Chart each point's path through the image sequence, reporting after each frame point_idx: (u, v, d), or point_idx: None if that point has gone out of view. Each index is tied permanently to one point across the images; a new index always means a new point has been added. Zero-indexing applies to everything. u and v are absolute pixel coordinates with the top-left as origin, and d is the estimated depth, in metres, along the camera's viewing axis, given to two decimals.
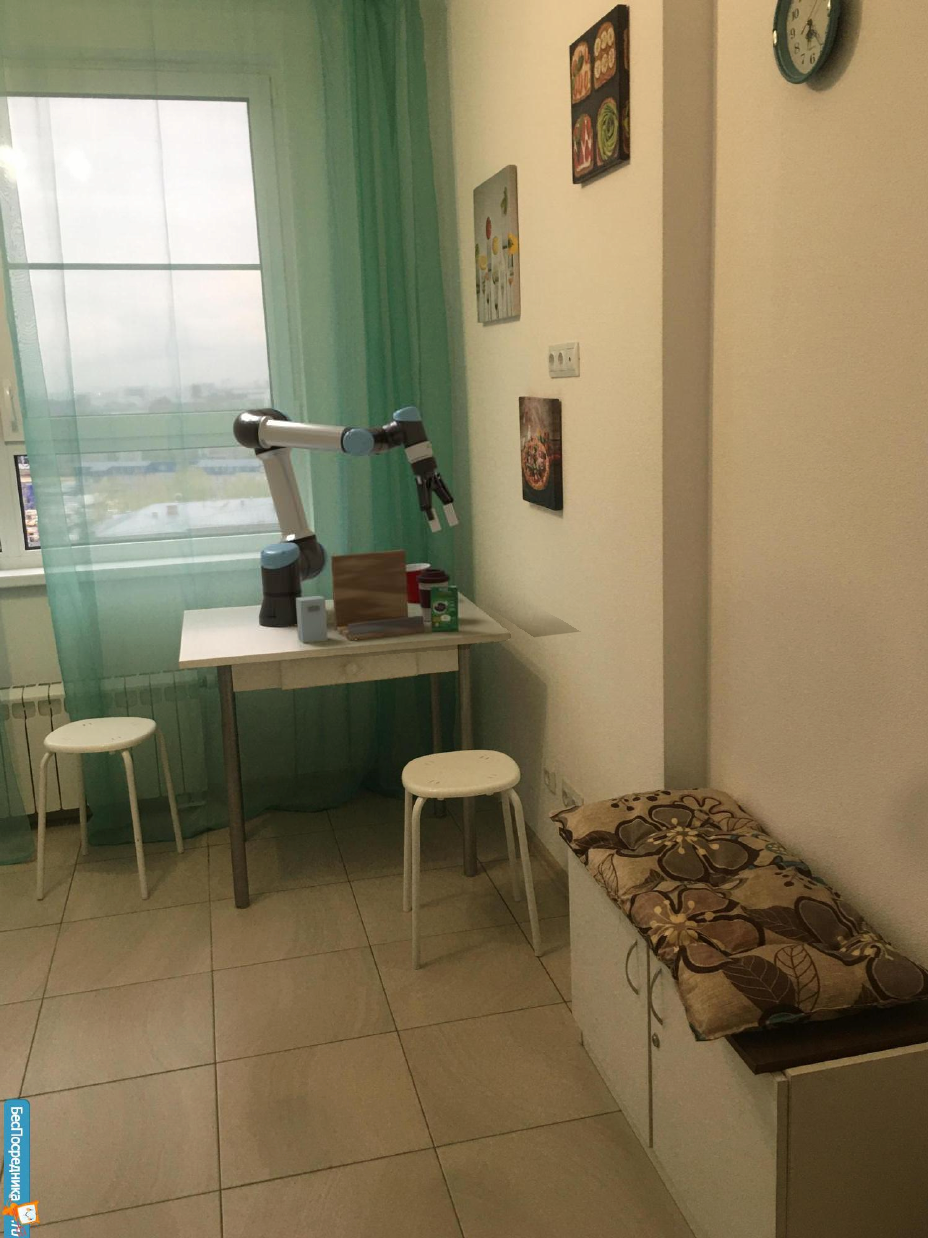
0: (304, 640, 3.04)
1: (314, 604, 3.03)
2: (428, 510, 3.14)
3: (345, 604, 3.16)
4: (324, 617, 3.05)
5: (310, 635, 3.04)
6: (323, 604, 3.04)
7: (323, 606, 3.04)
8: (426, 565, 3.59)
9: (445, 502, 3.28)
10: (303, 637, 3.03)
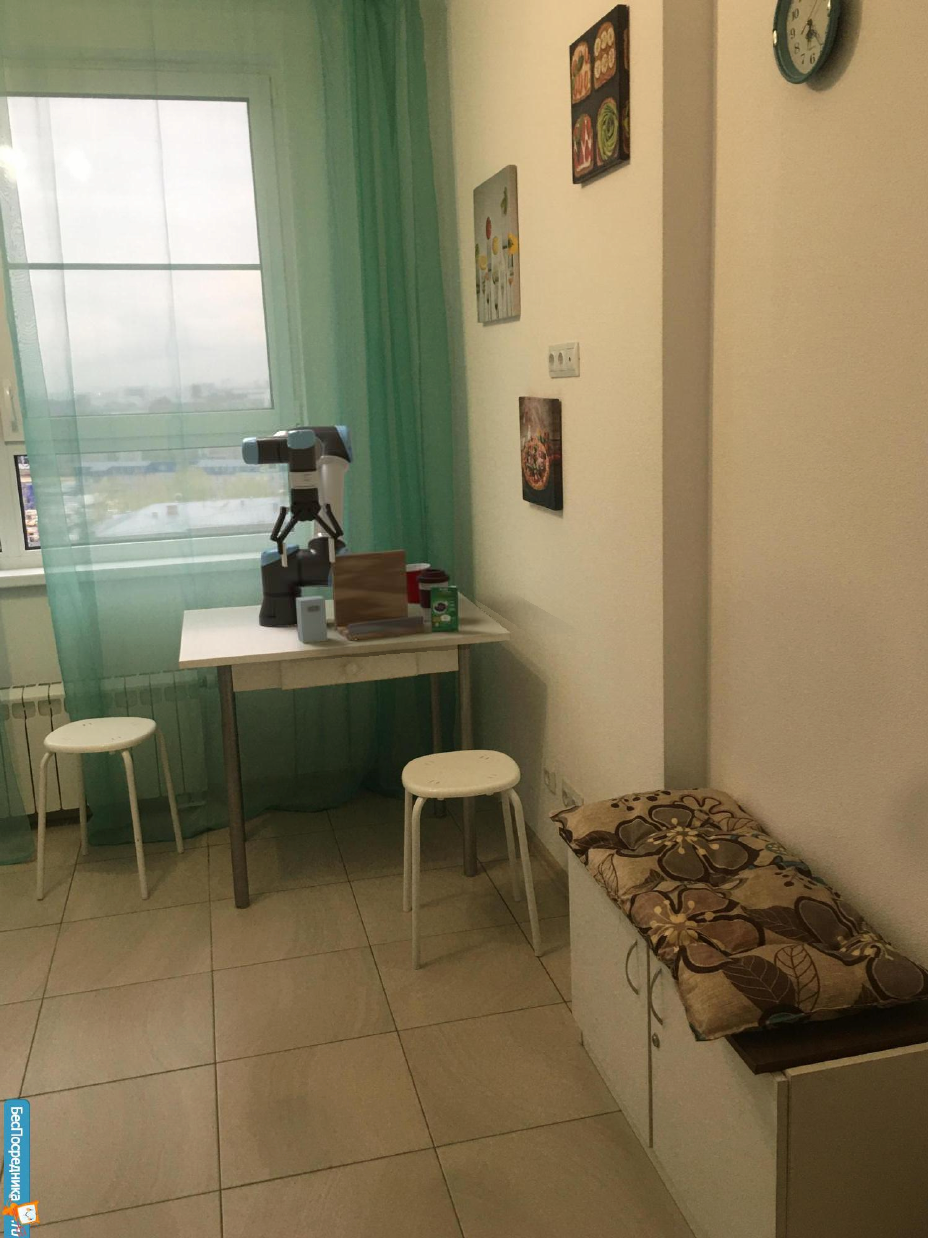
0: (304, 640, 3.04)
1: (314, 604, 3.03)
2: (277, 543, 2.98)
3: (345, 604, 3.16)
4: (324, 617, 3.05)
5: (310, 635, 3.04)
6: (323, 604, 3.04)
7: (323, 606, 3.04)
8: (426, 565, 3.59)
9: (331, 535, 3.04)
10: (303, 637, 3.03)
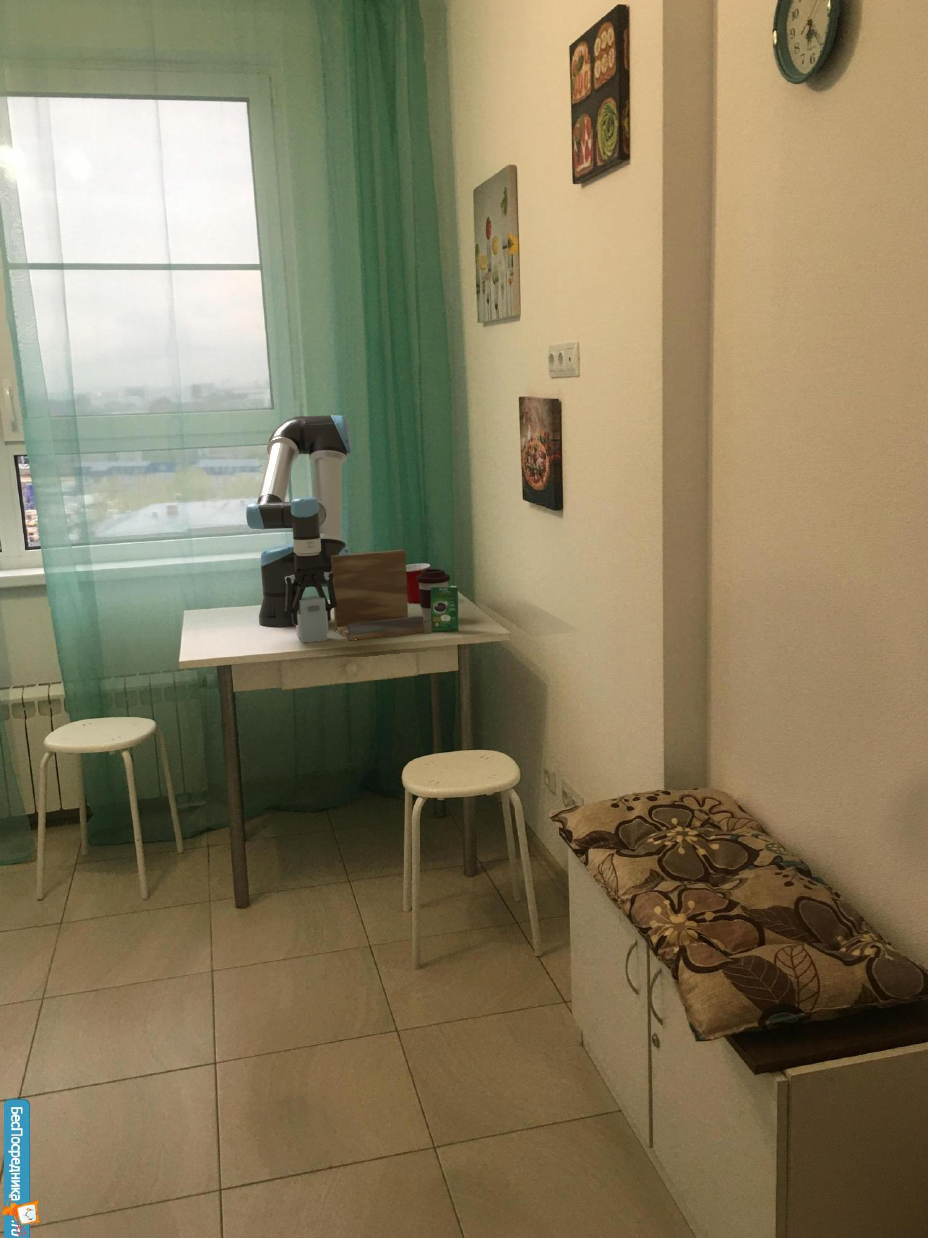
0: (304, 640, 3.04)
1: (314, 604, 3.03)
2: (292, 614, 3.03)
3: (345, 604, 3.16)
4: (324, 617, 3.05)
5: (310, 635, 3.04)
6: (323, 603, 3.04)
7: (323, 606, 3.04)
8: (426, 565, 3.59)
9: None
10: (303, 637, 3.03)
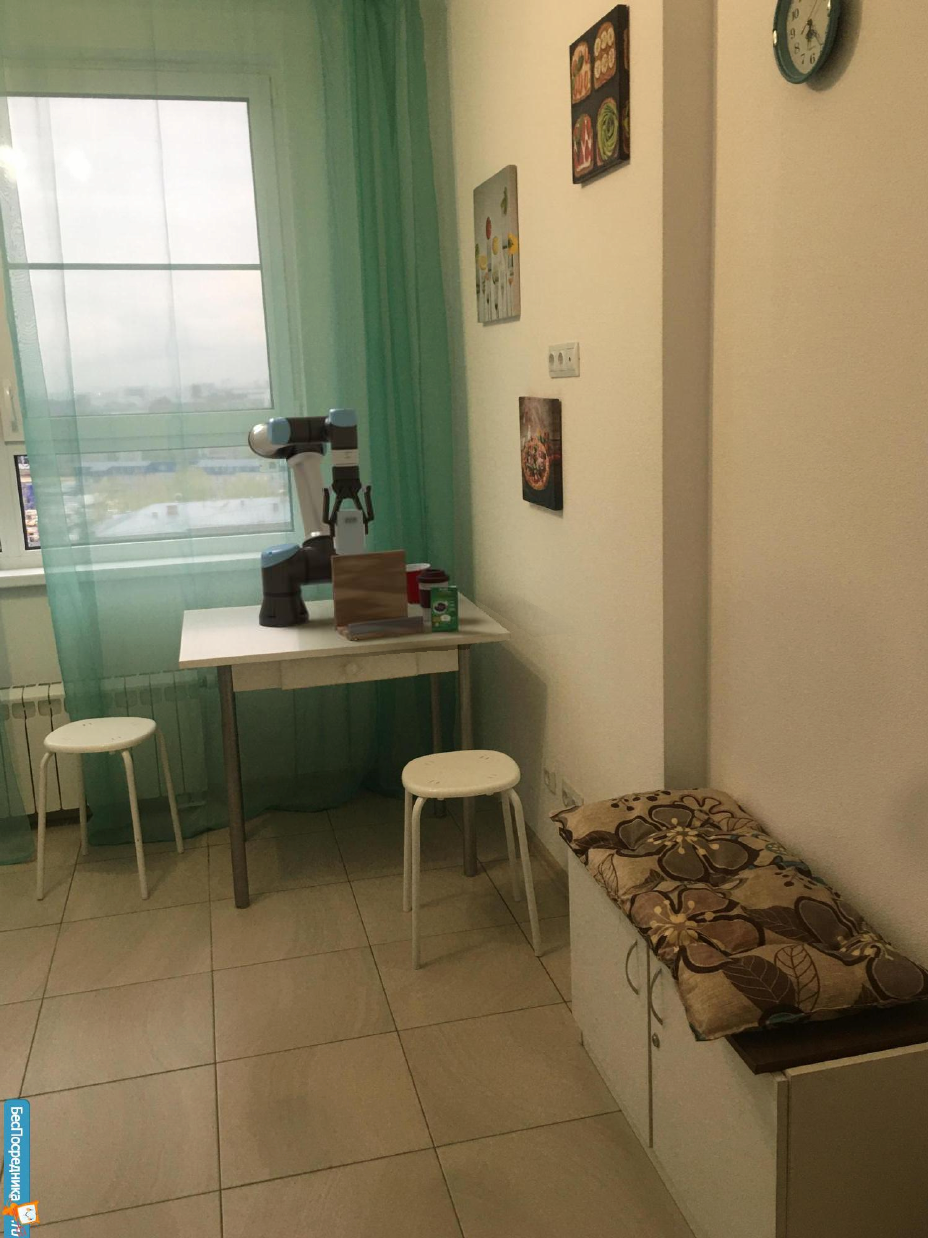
0: (341, 552, 3.03)
1: (352, 516, 3.03)
2: (330, 526, 3.03)
3: (345, 604, 3.16)
4: (361, 529, 3.04)
5: (347, 547, 3.04)
6: (360, 515, 3.04)
7: (360, 518, 3.04)
8: (426, 565, 3.59)
9: None
10: (340, 549, 3.03)
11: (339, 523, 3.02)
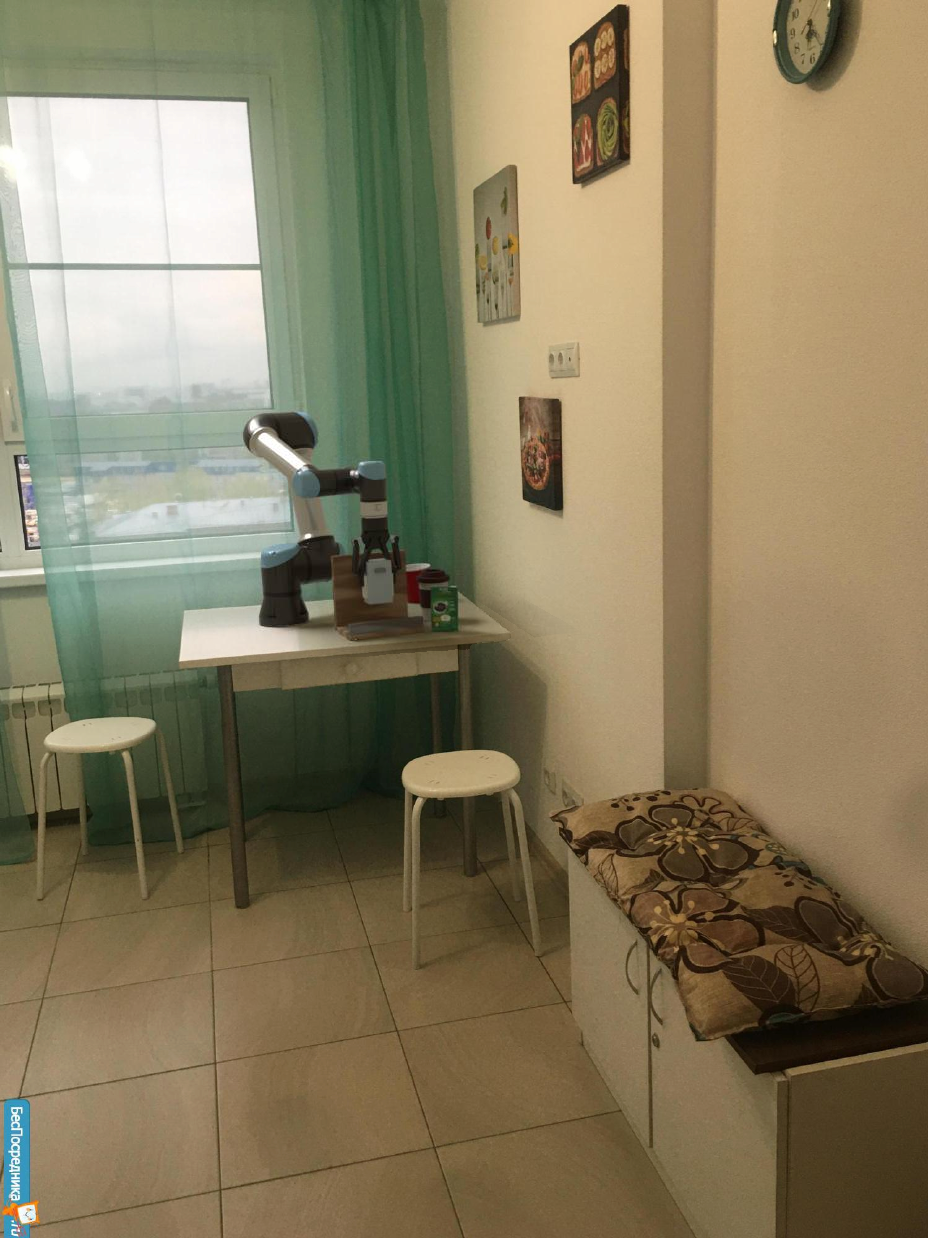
0: (371, 601, 3.10)
1: (381, 566, 3.09)
2: (359, 576, 3.09)
3: (345, 604, 3.16)
4: (390, 579, 3.11)
5: (376, 596, 3.10)
6: (389, 566, 3.10)
7: (389, 568, 3.10)
8: (426, 565, 3.59)
9: None
10: (370, 598, 3.10)
11: (369, 573, 3.08)
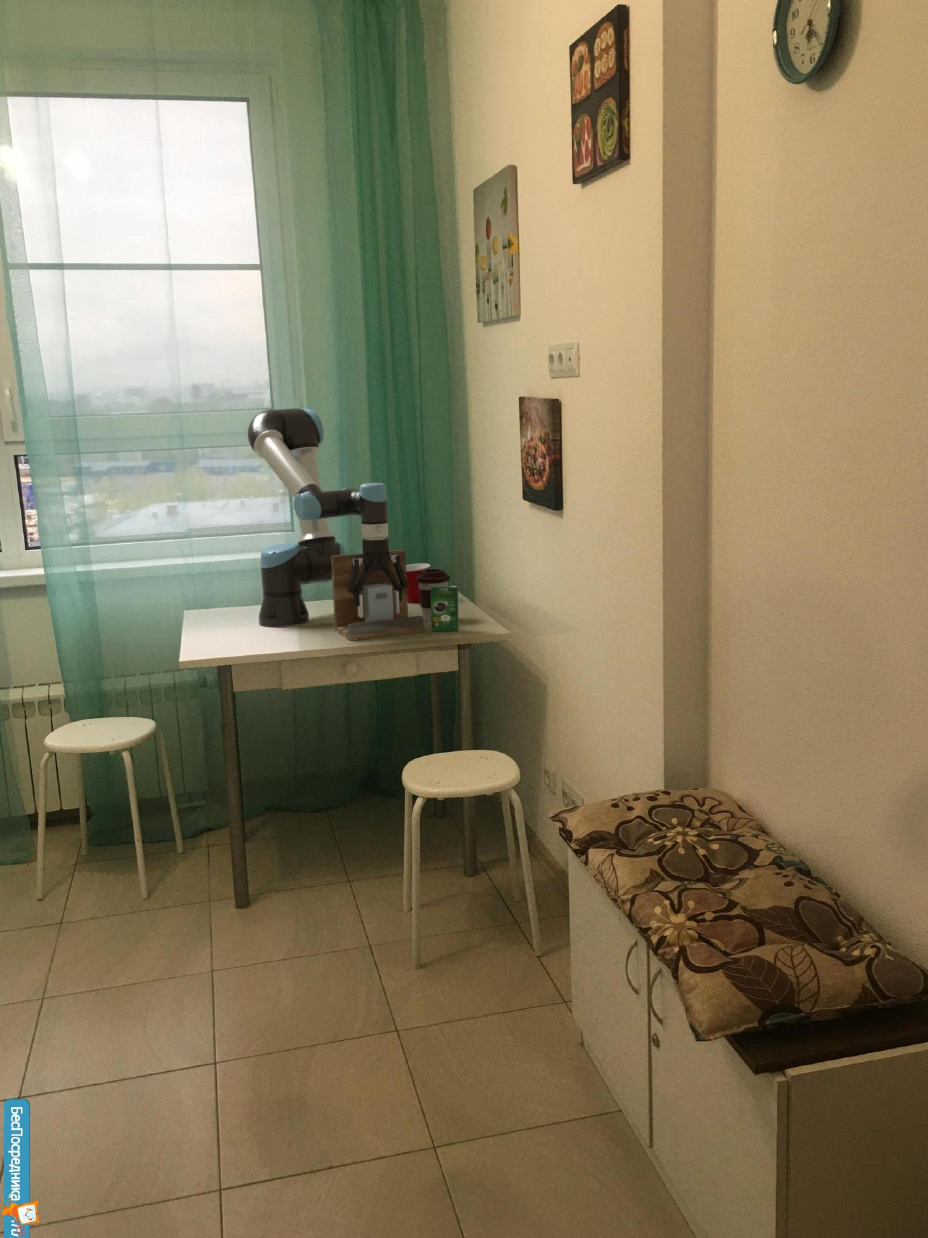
0: None
1: (382, 591, 3.11)
2: (354, 595, 3.10)
3: (345, 604, 3.16)
4: (391, 604, 3.12)
5: None
6: (390, 591, 3.12)
7: (390, 593, 3.12)
8: (426, 565, 3.59)
9: (396, 587, 3.15)
10: None
11: (370, 599, 3.10)
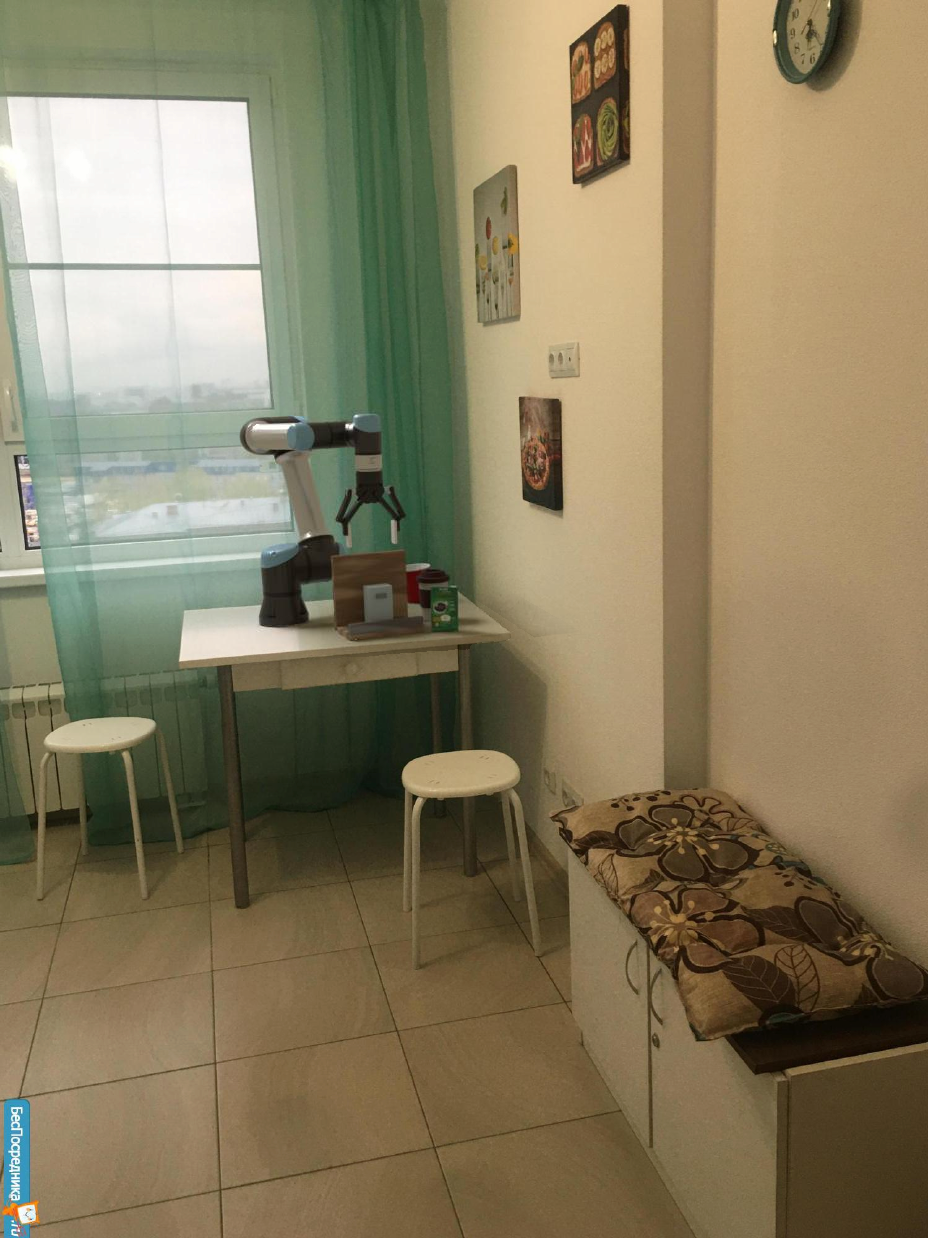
0: None
1: (382, 591, 3.11)
2: (343, 525, 3.05)
3: (345, 604, 3.16)
4: (391, 604, 3.12)
5: None
6: (390, 591, 3.12)
7: (390, 593, 3.12)
8: (426, 565, 3.59)
9: (394, 517, 3.12)
10: None
11: (370, 599, 3.10)
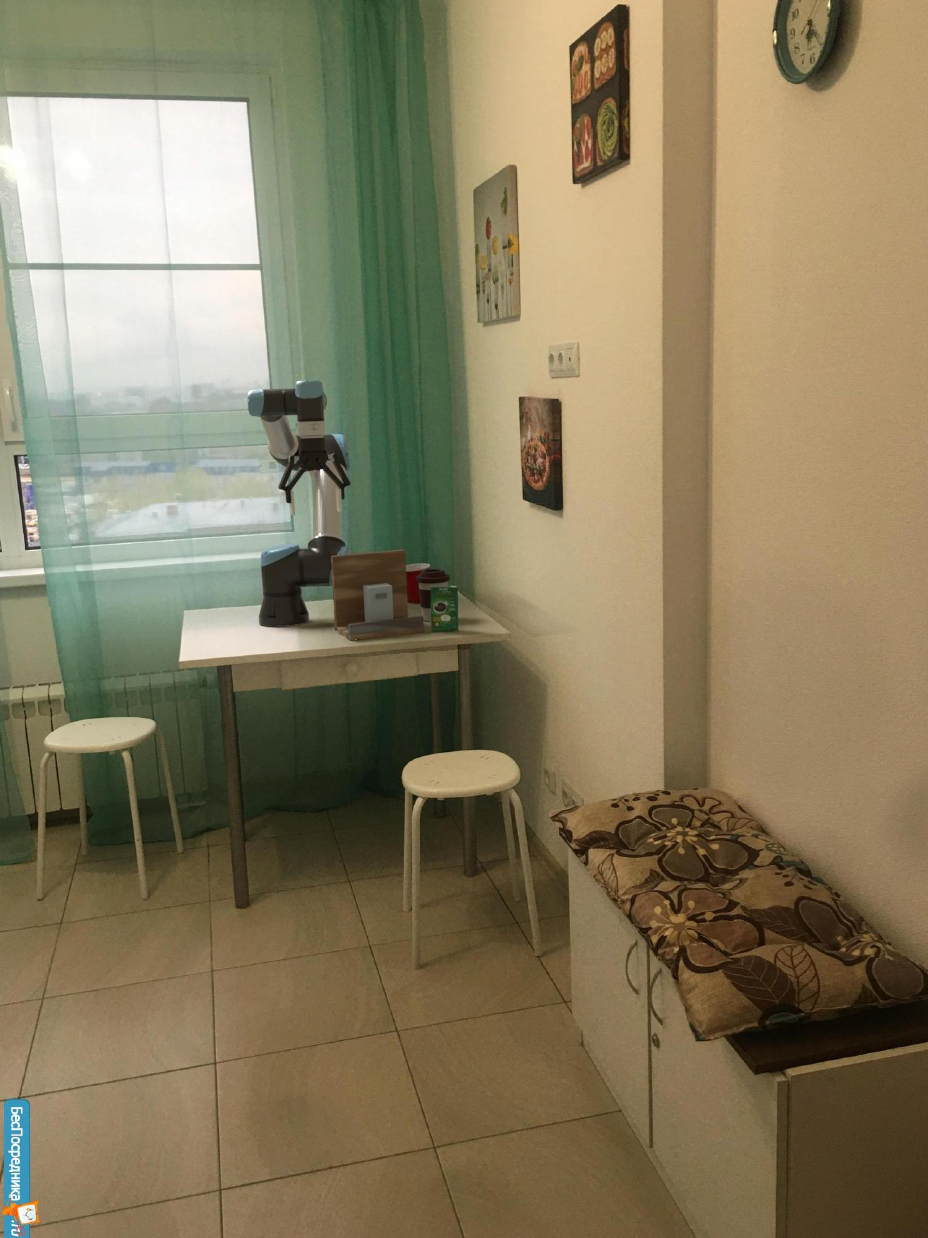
0: None
1: (382, 591, 3.11)
2: (286, 492, 3.04)
3: (345, 604, 3.16)
4: (391, 604, 3.12)
5: None
6: (390, 591, 3.12)
7: (390, 593, 3.12)
8: (426, 565, 3.59)
9: (339, 485, 3.10)
10: None
11: (370, 599, 3.10)
